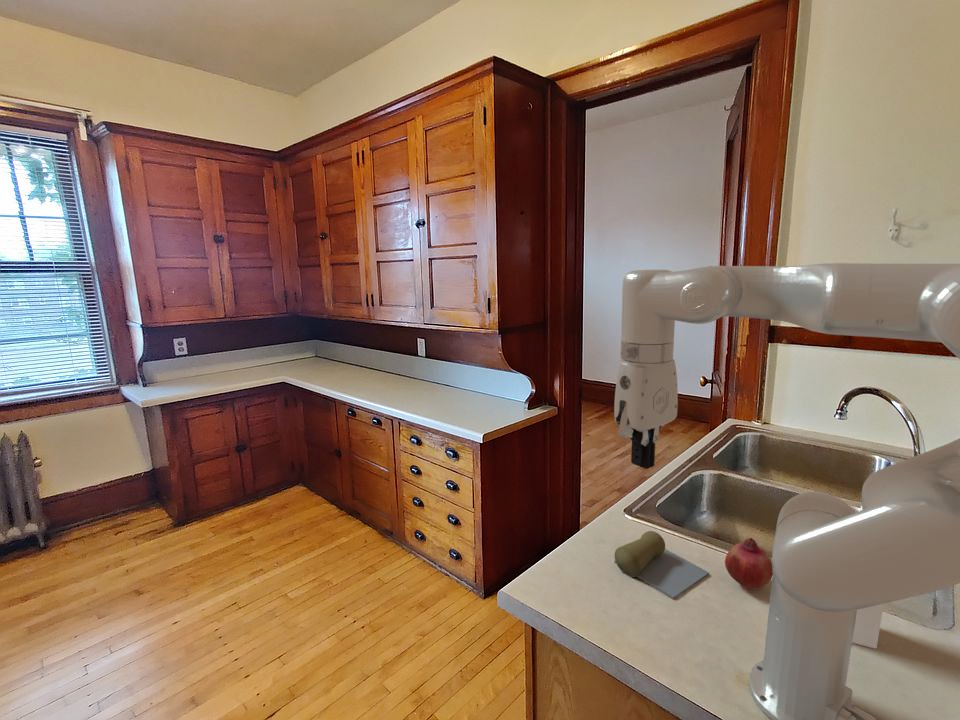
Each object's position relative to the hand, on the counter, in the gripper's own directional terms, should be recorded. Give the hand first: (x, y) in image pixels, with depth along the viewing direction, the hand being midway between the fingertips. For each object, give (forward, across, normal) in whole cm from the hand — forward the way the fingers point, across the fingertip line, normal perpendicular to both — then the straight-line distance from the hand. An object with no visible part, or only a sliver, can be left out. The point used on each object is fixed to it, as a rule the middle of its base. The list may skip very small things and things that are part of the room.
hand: (642, 464), depth 75 cm
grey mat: (+31, +18, +8) cm, 37 cm away
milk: (+31, +29, -21) cm, 48 cm away
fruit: (+31, +27, -5) cm, 42 cm away
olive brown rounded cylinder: (+28, +11, +11) cm, 32 cm away
